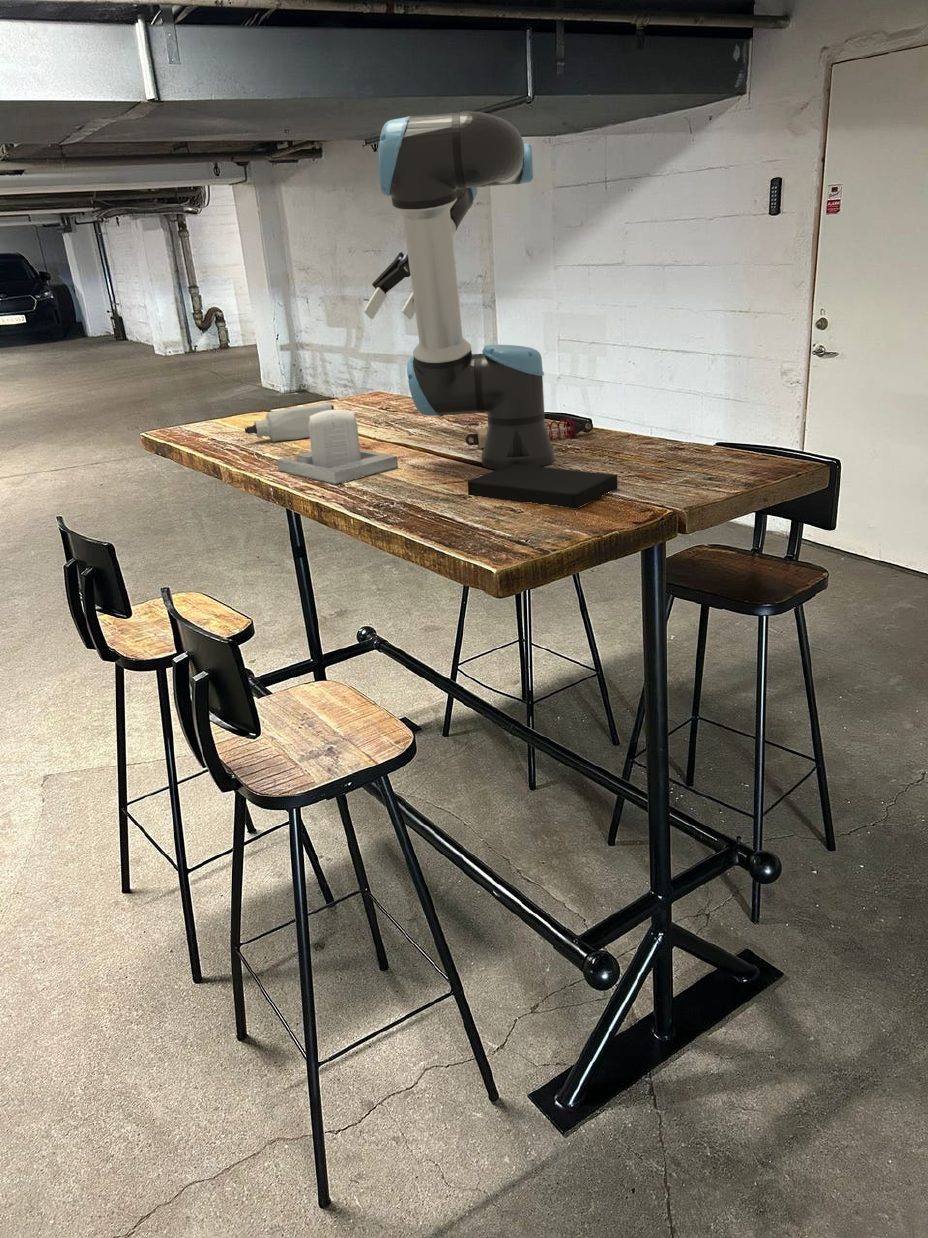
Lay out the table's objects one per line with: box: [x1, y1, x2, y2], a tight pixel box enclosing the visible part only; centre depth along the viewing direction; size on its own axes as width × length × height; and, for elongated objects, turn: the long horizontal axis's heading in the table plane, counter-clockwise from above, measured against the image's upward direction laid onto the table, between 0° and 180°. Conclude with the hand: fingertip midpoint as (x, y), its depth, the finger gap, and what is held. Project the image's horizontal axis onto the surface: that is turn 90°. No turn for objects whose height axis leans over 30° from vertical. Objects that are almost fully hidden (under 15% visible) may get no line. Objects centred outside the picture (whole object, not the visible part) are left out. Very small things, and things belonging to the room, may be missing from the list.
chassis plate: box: [276, 448, 399, 485], centre depth 191 cm, size 22×16×2 cm
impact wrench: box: [244, 402, 335, 443], centre depth 234 cm, size 8×23×25 cm
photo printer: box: [308, 409, 361, 468], centre depth 188 cm, size 10×4×12 cm, turn 102°
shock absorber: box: [465, 418, 594, 450], centre depth 201 cm, size 5×5×30 cm
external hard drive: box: [467, 464, 618, 508], centre depth 162 cm, size 14×23×3 cm, turn 52°
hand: (386, 315), depth 195 cm, fingers open, 13 cm apart
